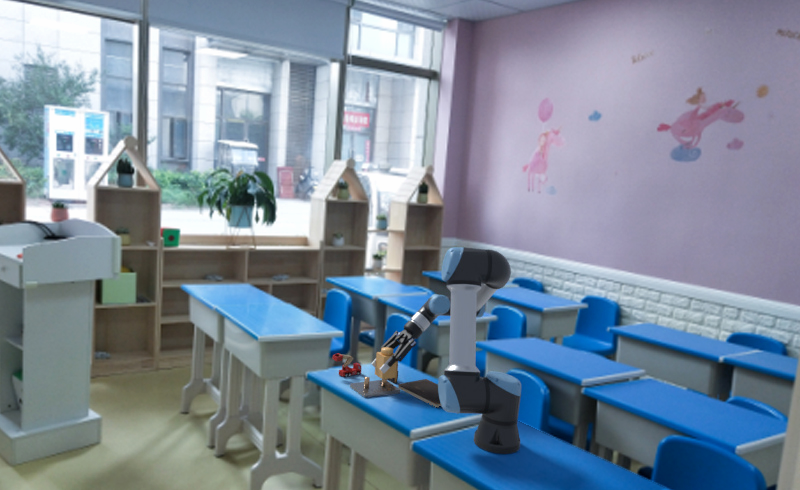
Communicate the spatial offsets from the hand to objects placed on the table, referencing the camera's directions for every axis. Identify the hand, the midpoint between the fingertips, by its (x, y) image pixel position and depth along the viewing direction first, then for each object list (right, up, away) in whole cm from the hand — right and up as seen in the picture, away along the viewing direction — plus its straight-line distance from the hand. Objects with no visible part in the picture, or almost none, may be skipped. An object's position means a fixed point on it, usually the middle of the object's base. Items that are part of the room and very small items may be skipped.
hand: (377, 368), depth 240 cm
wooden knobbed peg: (+3, -3, +2) cm, 5 cm away
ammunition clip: (+4, -8, +15) cm, 18 cm away
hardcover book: (+21, -11, +2) cm, 24 cm away
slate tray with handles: (-1, -9, 0) cm, 9 cm away
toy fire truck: (-14, -6, +15) cm, 21 cm away
